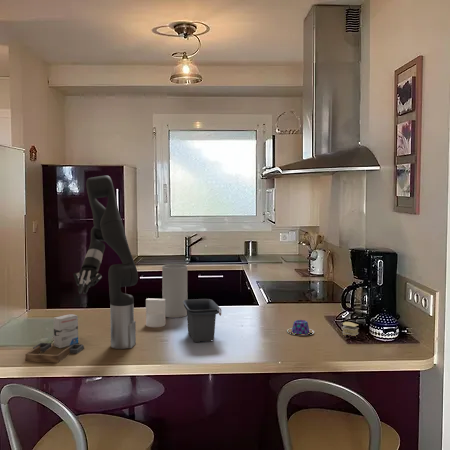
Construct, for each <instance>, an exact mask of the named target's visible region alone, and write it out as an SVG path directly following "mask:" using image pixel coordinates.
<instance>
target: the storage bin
mask: <svg viewBox="0 0 450 450" xmlns="http://www.w3.org/2000/svg"><path fill="white" fill-rule="evenodd" d="M183 303H184V307H185V308H186V310H187V315H186V319H187V320H186V321H187V332H188V334H189V335H190V338H191V339H192V341H193V342H194V343H201V342H200V341H207V342H212V341H211V340H213V341H214V340H215V331H216V330H215V329H216V319H217V315H219V316H222V308H221V307H220V306H219V305H218V304H217V303H216V302H215V301H214V300H213V299H210V298H198V299H197V298H196V299H195V298H193V299H192V298H191V299H187V300H184V301H183Z"/></svg>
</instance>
